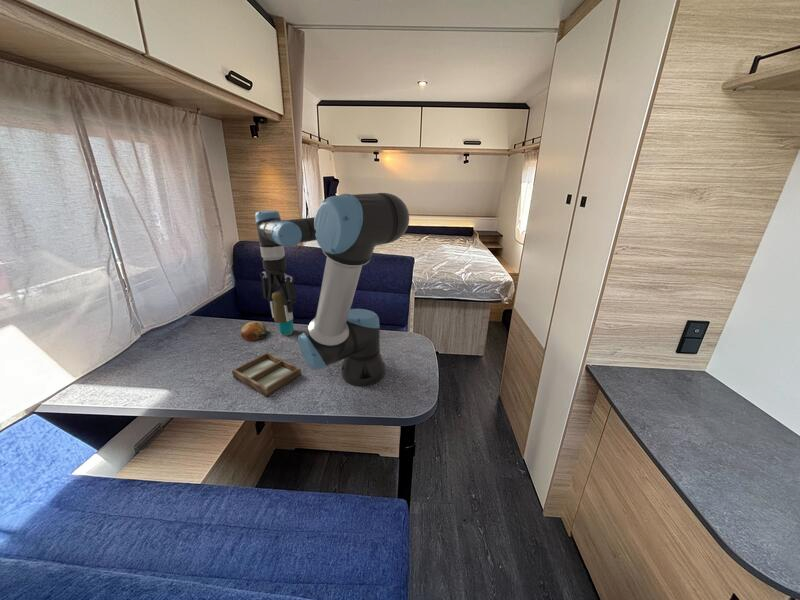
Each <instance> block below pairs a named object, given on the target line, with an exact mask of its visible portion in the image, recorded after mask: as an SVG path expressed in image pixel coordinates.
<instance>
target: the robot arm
mask: <svg viewBox="0 0 800 600" xmlns="http://www.w3.org/2000/svg"><path fill="white" fill-rule="evenodd" d="M254 216H255V218H254V219H255V225H256V231H257V236H258V242H259V248H260V256H261V258H262V267H263V270H264V271H262V272H260V273H259V276H260V279H261V285H262V286H261V287H262V295H263V298H264V299H266V300H267V301H268V303H269V307H270V311H271V317H272V319H274V300H273V299H272V294H273V292H275V291H277V287H278V288H279V291H280V290H281V293H282V295H283V298H284V300H285V303H286V304H284V308H285V315H286V321H290V320H294V316H293V312H294V306H293V304H295V303H297V301H298V300H297V295H296V290H295V284H294V281H295V280H294V279H295V277H294V275H289V274H288V273H287V271H286V268H287V260H286V257H285V255H286V254H285V247H287V248H293V247H296V246H298V244H303V243H307V242H313V241H316V242H317V244H318V246H319V248H320V249H321V250H322V253H323V254H324V256H326V260H325V266H324V271H323V277H322V282H321V287H320V288H321V289H320V293H319V299H318V302H317V303H318V304H317V310H316V314H315V317H314V318H313V319H311V321H310V322H309V325H308V328H307V332H302V333H301V334H299V335H298V337H297V344H298V349H299V352H300V354H301V355H302V358H303V359H304V361H305V363H306V364H307V366H309V368H310V369H313V370H315V371H317V370H318V371H319V370H321V369H325V368H327V367H329V366H332V365H333V364H335V363H337V362H339V361H342V360H343V362H342V365H341V377H342V380H344V381H345V382H346V383H347V384H350V385H352V386H357V387H363V386H365V387H367V386H371V385H374V384H377V383H378V382H380V381H381V380H382V379H383V378H384V377H385V374H386V365H385V362H384V361H383V358H382V357H383V356H382V355H381V352H380V351H381V346H380V341H381V340H380V336H381V335H380V334H381V333H380V329H381V328H380V327H381V325H380V318H379V316H378V314H377V313H376V312H374V311H373V310H368V309H366V308H365V309H364V308H352V304H353V302H354V297H355V293H356V289H357V286H358V282H359V280H360V276H361V272H362V268H363V266H365V265H367V264H368V263H369V262H370V261H371V260H372V256H373V253H374V250H375V247H377V246H381V245H386V244H391V243H394V242H395V241H398V240H399V239H400V238H402V237H403V235H405V233H406V232H407V230H408V227H409V224H410V213H409V209H408V206H407V205H406V204H405V202H404V201H403V200H402V199H401V198H400V197H398V196H397V195H395V194H392V193H388V192H378V193H376V192H375V193H360V194H359V193H358V194H350V193H342V194H339V195H332V196H329V197H327V198H325V199H324V200H323V201H321V202H320V204H319V205H318V207H317V209H316V212H315V216H314V217H306V218H305V217H304V218H303V217H301V218H294V219H293V218H291V219H282V218H281V215H280V213H279V211H277V210H260V211H256V212H255V215H254ZM288 300H289V301H288Z"/></svg>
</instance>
